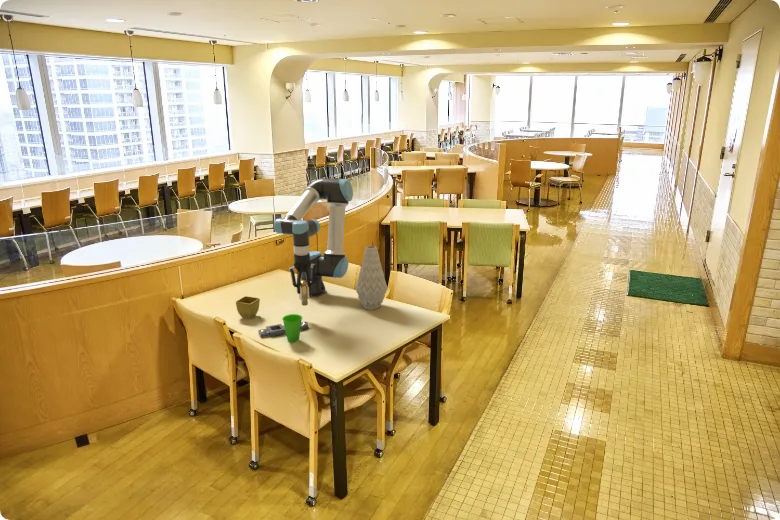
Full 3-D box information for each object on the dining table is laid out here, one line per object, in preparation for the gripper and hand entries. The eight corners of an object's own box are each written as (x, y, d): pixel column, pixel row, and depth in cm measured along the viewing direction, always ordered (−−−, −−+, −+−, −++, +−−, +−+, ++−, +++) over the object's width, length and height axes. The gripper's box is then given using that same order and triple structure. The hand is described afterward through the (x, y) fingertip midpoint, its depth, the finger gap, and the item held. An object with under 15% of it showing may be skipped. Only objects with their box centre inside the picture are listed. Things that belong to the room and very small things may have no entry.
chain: (305, 323, 259) (305, 319, 258) (310, 329, 253) (310, 324, 252) (257, 332, 249) (257, 328, 248) (261, 338, 243) (261, 333, 242)
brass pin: (307, 302, 265) (306, 279, 261) (310, 305, 261) (308, 282, 258) (299, 303, 263) (297, 281, 260) (301, 306, 260) (300, 283, 256)
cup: (284, 336, 245) (283, 314, 242) (304, 335, 246) (303, 313, 243) (282, 344, 237) (280, 322, 233) (302, 344, 237) (301, 321, 234)
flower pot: (261, 314, 270) (260, 297, 267) (251, 320, 262) (250, 303, 259) (246, 312, 273) (245, 295, 270) (236, 318, 265) (235, 301, 262)
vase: (351, 310, 275) (350, 249, 266) (361, 299, 291) (360, 241, 281) (382, 314, 271) (382, 252, 262) (390, 302, 286) (391, 244, 277)
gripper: (315, 248, 261) (317, 293, 268) (283, 253, 254) (286, 298, 261) (320, 253, 254) (322, 298, 262) (287, 257, 248) (290, 304, 255)
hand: (304, 298), depth 261 cm, fingers closed on brass pin, 3 cm apart
